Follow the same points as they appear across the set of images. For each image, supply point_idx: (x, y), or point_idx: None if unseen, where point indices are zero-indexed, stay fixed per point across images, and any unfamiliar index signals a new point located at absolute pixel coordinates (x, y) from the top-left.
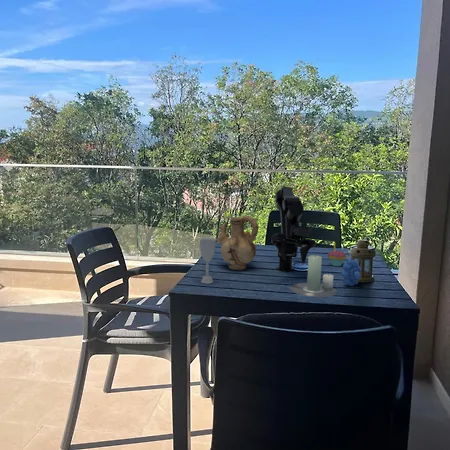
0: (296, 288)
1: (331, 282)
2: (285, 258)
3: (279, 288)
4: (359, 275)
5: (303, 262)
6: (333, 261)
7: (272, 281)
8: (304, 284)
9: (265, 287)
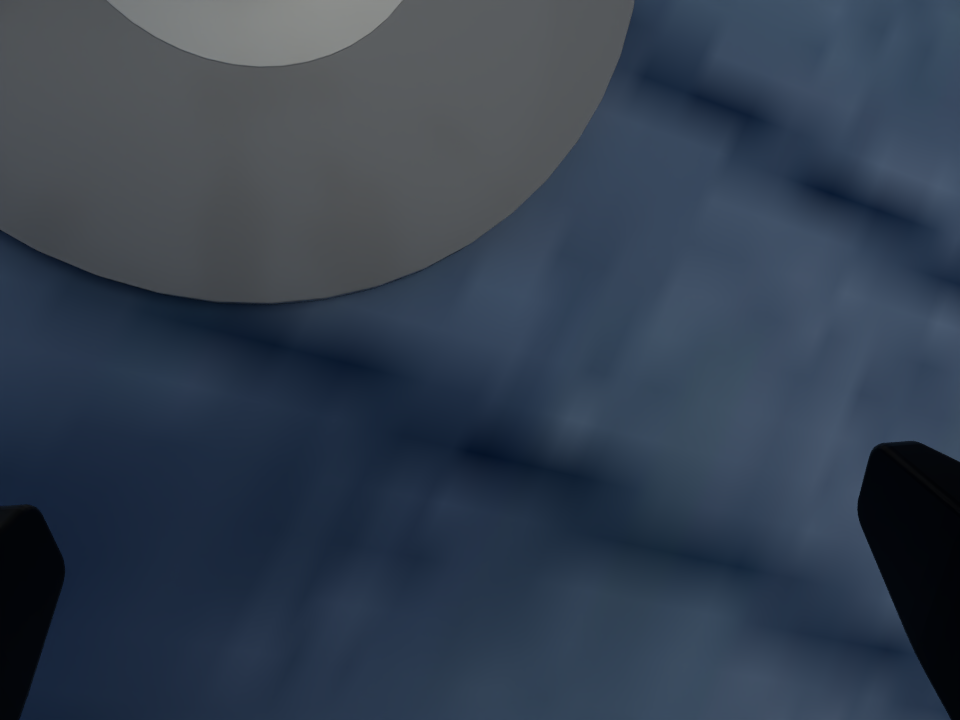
0: (512, 44)
1: None
2: (904, 447)
3: (675, 282)
4: None
5: (43, 526)
6: None
7: (629, 648)
8: (260, 204)
9: (837, 380)
